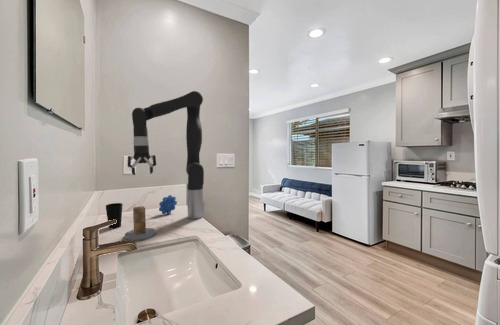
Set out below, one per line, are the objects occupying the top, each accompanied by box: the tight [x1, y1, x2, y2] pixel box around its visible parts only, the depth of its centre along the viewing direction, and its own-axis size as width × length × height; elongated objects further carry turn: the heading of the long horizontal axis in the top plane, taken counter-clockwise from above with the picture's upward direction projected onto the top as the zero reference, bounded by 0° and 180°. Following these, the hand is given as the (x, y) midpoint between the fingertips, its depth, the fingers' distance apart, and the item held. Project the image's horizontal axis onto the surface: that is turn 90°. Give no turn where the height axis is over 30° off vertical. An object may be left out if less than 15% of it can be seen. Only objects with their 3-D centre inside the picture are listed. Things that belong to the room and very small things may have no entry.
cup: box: [105, 202, 123, 230], centre depth 119 cm, size 8×8×12 cm
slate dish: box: [124, 227, 156, 242], centre depth 107 cm, size 13×13×2 cm
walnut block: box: [132, 205, 147, 235], centre depth 107 cm, size 4×4×12 cm
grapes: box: [158, 194, 178, 215], centre depth 144 cm, size 12×7×12 cm, turn 131°
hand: (142, 174), depth 125 cm, fingers open, 8 cm apart
